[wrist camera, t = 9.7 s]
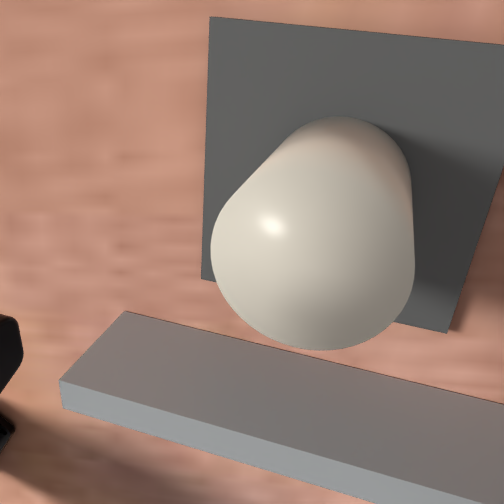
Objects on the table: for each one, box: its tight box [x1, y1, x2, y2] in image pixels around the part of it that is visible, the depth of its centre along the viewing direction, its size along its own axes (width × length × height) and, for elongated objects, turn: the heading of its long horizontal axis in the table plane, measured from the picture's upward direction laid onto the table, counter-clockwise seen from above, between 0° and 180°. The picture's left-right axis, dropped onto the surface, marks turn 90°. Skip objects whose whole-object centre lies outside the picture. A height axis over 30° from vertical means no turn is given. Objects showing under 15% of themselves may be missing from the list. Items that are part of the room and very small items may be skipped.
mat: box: [201, 17, 504, 334], centre depth 17 cm, size 10×10×1 cm
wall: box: [59, 311, 504, 504], centre depth 19 cm, size 18×2×5 cm, turn 85°
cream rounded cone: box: [211, 116, 415, 350], centre depth 14 cm, size 5×5×6 cm
